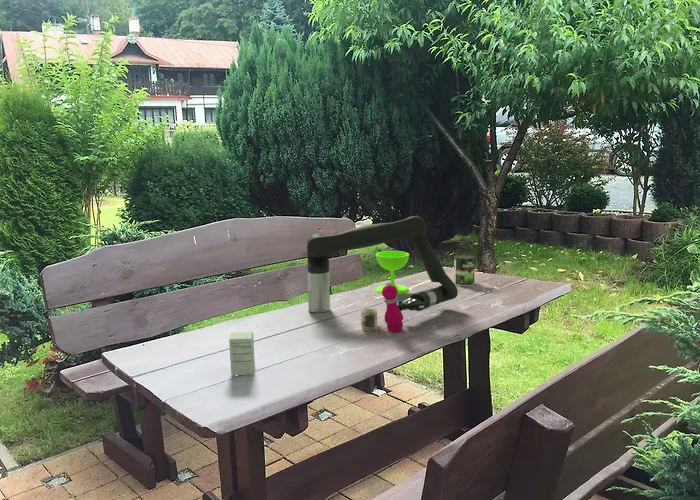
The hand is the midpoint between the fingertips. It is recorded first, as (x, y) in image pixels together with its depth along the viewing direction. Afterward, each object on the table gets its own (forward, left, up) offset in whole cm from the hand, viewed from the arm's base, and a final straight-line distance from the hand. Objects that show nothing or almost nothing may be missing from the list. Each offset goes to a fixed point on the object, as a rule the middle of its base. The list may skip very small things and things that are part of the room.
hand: (397, 308), depth 241 cm
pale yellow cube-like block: (-11, +2, -8) cm, 14 cm away
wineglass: (+4, +58, -8) cm, 59 cm away
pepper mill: (-1, -1, -8) cm, 8 cm away
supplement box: (-55, -40, -8) cm, 69 cm away
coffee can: (+41, +67, -8) cm, 79 cm away
